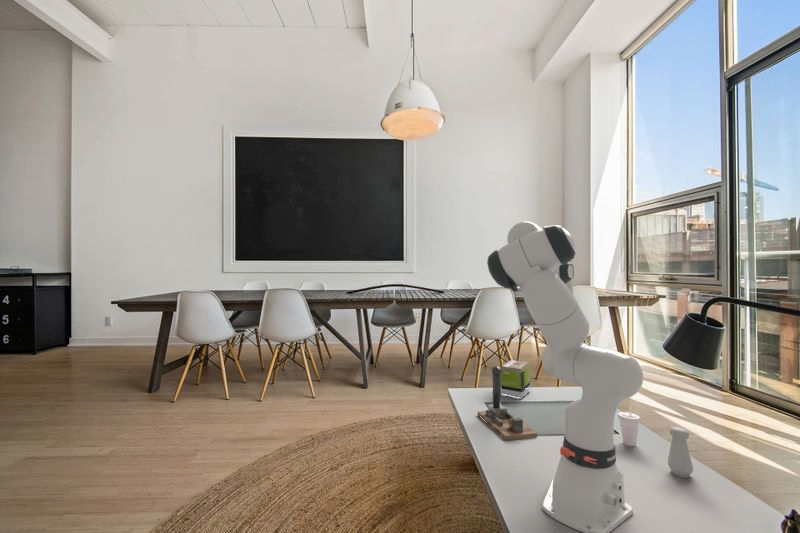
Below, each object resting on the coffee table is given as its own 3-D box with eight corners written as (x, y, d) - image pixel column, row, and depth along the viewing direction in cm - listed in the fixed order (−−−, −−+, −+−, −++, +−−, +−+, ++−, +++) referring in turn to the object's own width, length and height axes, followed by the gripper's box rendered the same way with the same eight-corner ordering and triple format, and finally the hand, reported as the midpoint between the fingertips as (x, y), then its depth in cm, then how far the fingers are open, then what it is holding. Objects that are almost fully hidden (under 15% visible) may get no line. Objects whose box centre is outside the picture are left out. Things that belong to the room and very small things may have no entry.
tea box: (510, 388, 181) (510, 359, 181) (531, 391, 175) (530, 361, 175) (500, 396, 168) (500, 365, 169) (521, 400, 163) (521, 368, 163)
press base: (477, 415, 145) (477, 401, 145) (504, 412, 148) (503, 398, 148) (506, 440, 122) (506, 423, 123) (536, 437, 125) (536, 420, 125)
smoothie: (644, 449, 116) (643, 406, 117) (623, 447, 117) (622, 405, 118) (635, 440, 122) (634, 399, 123) (615, 438, 124) (614, 398, 124)
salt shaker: (694, 473, 102) (693, 428, 102) (692, 482, 97) (691, 434, 98) (669, 466, 106) (667, 422, 106) (666, 474, 101) (665, 428, 102)
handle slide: (488, 412, 143) (487, 365, 144) (499, 411, 144) (499, 364, 145) (495, 418, 137) (494, 369, 138) (507, 417, 138) (506, 368, 139)
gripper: (562, 292, 141) (562, 326, 141) (540, 294, 127) (540, 332, 126) (578, 292, 137) (579, 328, 136) (558, 294, 122) (558, 334, 122)
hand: (560, 330), depth 131 cm, fingers open, 8 cm apart
